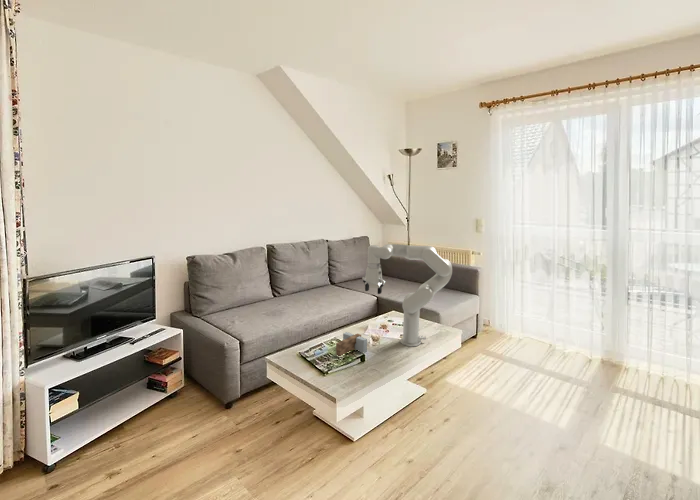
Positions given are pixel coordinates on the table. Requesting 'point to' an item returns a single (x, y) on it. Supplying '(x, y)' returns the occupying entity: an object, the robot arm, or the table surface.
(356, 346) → the grey u-shaped block
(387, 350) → the table surface
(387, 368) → the table surface
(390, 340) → the table surface
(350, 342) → the brown wooden board
